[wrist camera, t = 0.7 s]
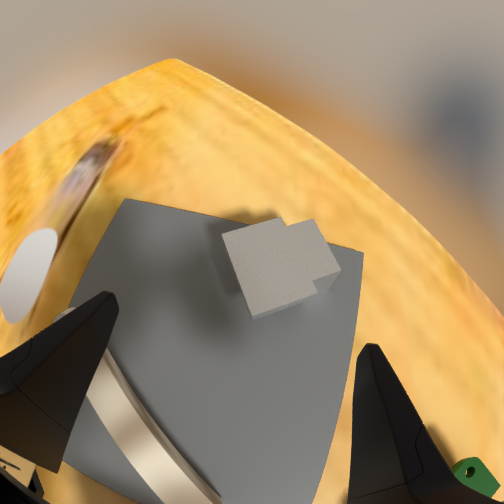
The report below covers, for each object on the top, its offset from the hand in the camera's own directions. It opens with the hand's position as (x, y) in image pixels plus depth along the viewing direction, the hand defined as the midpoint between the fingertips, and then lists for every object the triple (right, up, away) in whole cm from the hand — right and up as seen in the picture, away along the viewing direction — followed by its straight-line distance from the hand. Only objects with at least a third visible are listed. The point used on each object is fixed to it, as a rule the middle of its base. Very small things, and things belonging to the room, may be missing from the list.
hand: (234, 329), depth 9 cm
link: (-9, -11, +10) cm, 17 cm away
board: (-5, -7, +13) cm, 16 cm away
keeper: (+3, -1, +17) cm, 17 cm away
